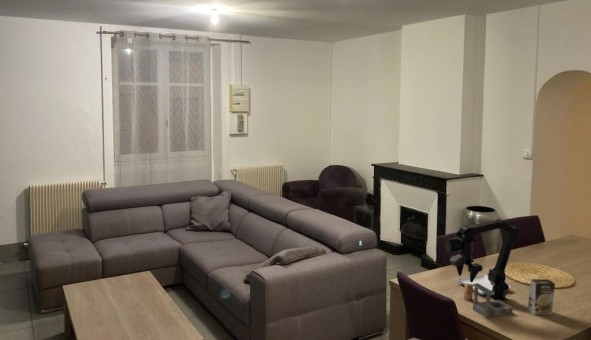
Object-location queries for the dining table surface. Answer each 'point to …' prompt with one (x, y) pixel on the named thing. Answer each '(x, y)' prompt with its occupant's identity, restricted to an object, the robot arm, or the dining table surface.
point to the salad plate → (479, 279)
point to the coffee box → (541, 297)
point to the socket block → (489, 304)
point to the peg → (468, 292)
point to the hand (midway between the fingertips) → (465, 278)
